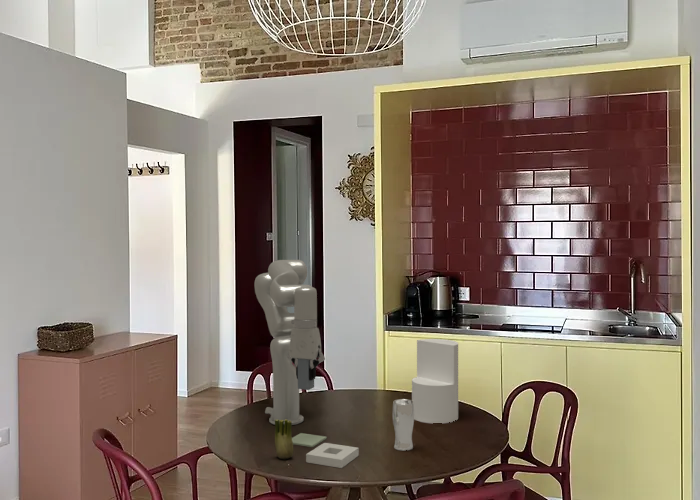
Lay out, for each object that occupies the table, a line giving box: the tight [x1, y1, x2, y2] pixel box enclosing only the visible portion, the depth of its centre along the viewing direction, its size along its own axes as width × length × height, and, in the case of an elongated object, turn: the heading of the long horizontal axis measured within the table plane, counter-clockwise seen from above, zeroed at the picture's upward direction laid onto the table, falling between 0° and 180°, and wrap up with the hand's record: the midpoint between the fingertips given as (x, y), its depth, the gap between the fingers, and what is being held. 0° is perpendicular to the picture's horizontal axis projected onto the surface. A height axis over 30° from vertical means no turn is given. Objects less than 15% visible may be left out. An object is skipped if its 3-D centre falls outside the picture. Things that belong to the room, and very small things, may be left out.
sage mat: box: [292, 432, 328, 448], centre depth 224 cm, size 10×10×1 cm
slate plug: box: [298, 359, 315, 391], centre depth 224 cm, size 4×4×10 cm
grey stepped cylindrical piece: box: [411, 338, 459, 424], centre depth 252 cm, size 17×17×28 cm
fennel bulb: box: [274, 419, 294, 460], centre depth 208 cm, size 6×5×12 cm
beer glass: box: [392, 398, 415, 452], centre depth 217 cm, size 7×7×15 cm
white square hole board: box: [305, 442, 360, 469], centre depth 207 cm, size 12×12×2 cm
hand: (306, 378), depth 224 cm, fingers closed on slate plug, 4 cm apart
